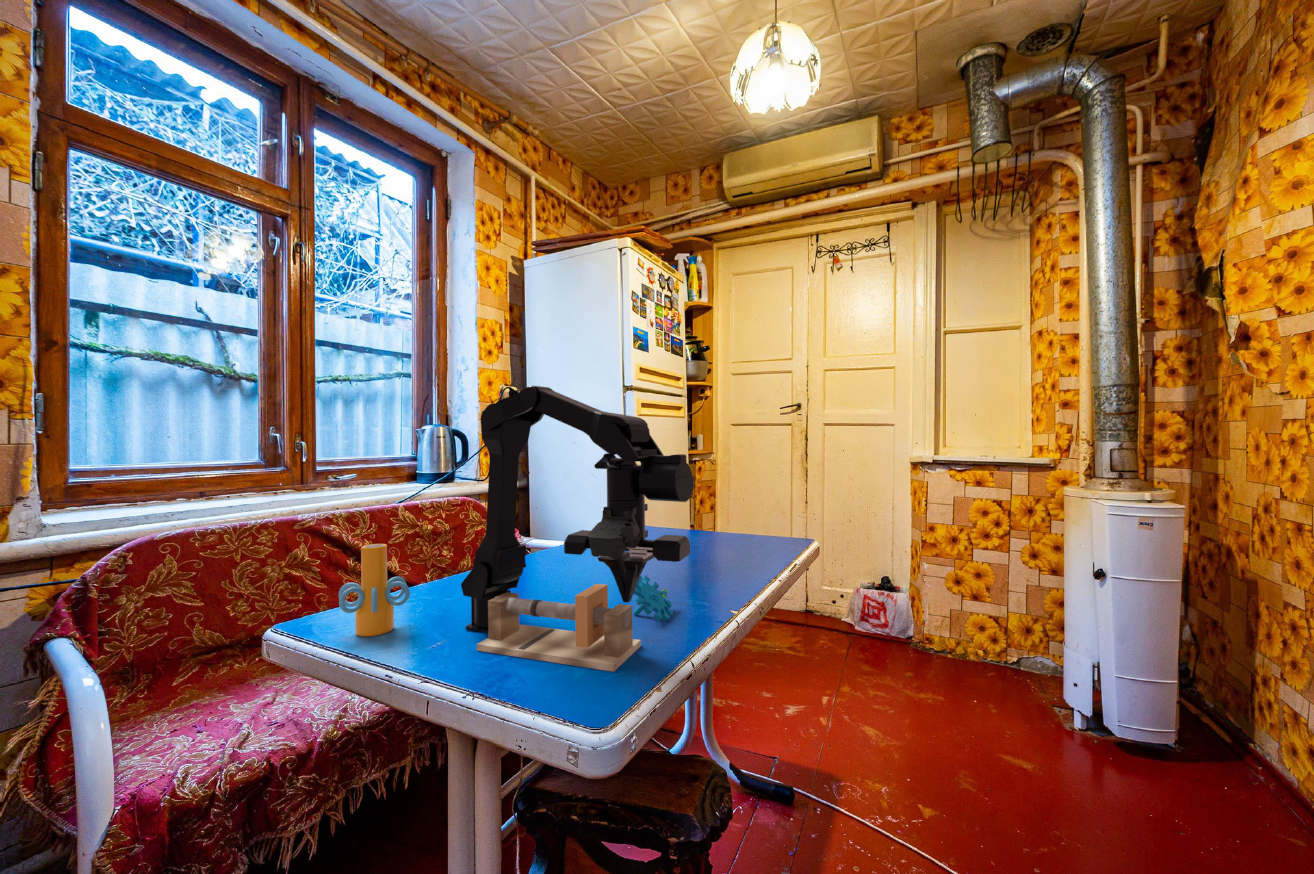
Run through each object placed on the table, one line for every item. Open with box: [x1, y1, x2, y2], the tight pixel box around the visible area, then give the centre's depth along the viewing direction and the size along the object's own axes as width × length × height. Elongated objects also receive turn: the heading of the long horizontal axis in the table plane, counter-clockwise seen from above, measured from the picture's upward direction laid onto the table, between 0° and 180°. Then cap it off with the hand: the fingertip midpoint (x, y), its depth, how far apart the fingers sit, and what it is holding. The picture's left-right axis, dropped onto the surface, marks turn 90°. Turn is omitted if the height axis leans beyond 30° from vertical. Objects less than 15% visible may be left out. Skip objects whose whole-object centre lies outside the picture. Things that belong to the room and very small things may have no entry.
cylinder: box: [338, 543, 411, 637], centre depth 94 cm, size 12×10×15 cm
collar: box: [574, 583, 609, 648], centre depth 83 cm, size 2×7×8 cm, turn 159°
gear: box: [632, 575, 674, 622], centre depth 100 cm, size 11×6×10 cm
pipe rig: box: [476, 592, 642, 672], centre depth 85 cm, size 24×10×7 cm, turn 69°
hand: (627, 601), depth 81 cm, fingers closed
